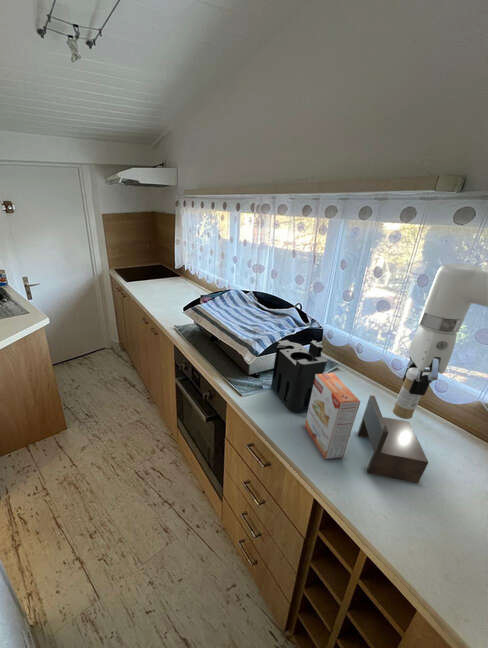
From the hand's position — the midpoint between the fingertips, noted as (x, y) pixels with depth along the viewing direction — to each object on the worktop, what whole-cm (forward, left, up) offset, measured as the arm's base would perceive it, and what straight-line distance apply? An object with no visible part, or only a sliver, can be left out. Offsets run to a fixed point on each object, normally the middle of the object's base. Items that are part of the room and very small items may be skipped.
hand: (413, 387), depth 77 cm
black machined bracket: (+26, -23, -25) cm, 43 cm away
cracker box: (+17, -1, -25) cm, 30 cm away
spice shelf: (0, 0, -24) cm, 24 cm away
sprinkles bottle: (0, 0, -9) cm, 9 cm away
